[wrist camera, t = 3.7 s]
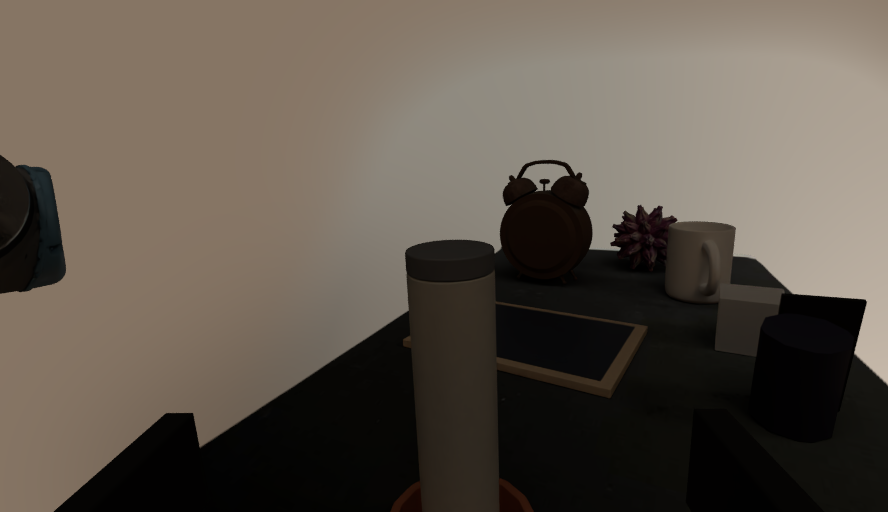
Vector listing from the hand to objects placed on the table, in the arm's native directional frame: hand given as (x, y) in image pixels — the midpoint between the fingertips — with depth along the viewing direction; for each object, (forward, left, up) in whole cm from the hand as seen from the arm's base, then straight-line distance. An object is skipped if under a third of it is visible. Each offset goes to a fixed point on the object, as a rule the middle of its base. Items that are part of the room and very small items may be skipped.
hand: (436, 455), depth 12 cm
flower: (-9, +77, -15) cm, 79 cm away
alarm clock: (-22, +63, -15) cm, 69 cm away
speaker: (+11, +34, -15) cm, 39 cm away
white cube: (+7, +49, -15) cm, 52 cm away
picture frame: (-15, +39, -15) cm, 45 cm away
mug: (+1, +63, -15) cm, 65 cm away
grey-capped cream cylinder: (-5, +8, -15) cm, 18 cm away
